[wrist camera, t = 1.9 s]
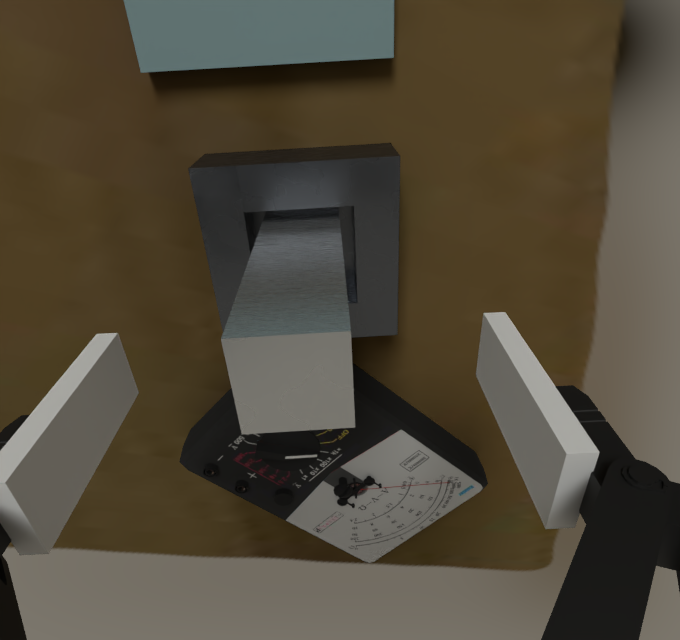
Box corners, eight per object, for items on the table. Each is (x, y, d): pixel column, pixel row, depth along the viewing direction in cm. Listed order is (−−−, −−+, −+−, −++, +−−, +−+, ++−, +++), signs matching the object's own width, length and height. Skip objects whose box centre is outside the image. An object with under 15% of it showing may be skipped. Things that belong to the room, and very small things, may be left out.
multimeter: (295, 317, 30) (291, 361, 26) (479, 450, 37) (499, 503, 33) (187, 428, 35) (168, 481, 31) (367, 528, 42) (372, 583, 38)
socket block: (235, 315, 30) (225, 345, 27) (204, 154, 25) (188, 168, 22) (389, 305, 30) (397, 334, 27) (390, 142, 25) (400, 155, 22)
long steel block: (274, 277, 27) (241, 434, 16) (266, 211, 25) (220, 338, 14) (342, 272, 27) (355, 427, 16) (338, 206, 25) (351, 331, 14)
